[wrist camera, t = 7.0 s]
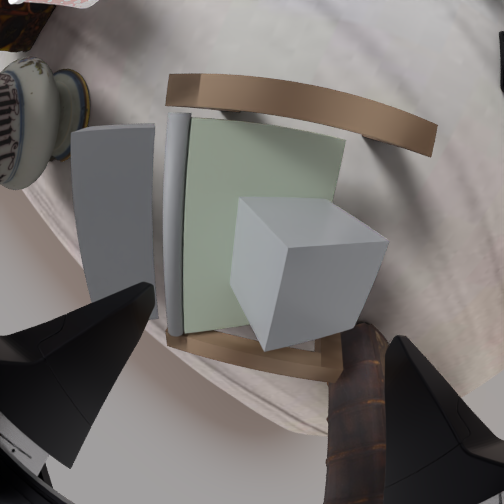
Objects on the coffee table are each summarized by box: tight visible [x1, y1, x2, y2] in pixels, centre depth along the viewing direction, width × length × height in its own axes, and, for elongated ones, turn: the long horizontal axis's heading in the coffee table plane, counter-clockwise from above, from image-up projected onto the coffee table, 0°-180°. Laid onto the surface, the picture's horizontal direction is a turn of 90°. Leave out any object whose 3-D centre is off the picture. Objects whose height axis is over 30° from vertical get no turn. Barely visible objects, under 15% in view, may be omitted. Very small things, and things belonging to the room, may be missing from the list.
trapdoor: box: [71, 113, 346, 337], centre depth 15 cm, size 14×12×5 cm
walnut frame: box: [165, 74, 438, 383], centre depth 16 cm, size 12×16×8 cm
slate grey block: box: [230, 197, 389, 352], centre depth 13 cm, size 5×5×5 cm
